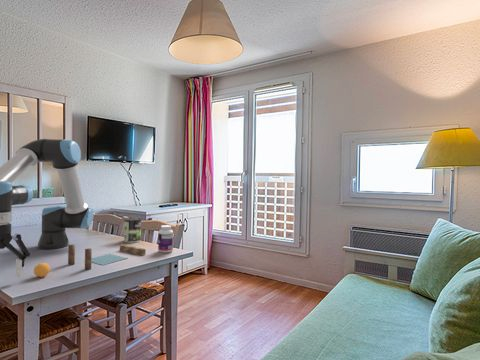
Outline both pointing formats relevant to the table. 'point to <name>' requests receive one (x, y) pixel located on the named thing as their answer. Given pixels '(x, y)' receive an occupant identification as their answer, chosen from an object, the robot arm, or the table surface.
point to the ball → (41, 270)
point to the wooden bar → (132, 249)
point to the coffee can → (132, 230)
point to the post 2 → (88, 258)
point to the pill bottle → (165, 239)
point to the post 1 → (71, 254)
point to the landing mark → (107, 259)
